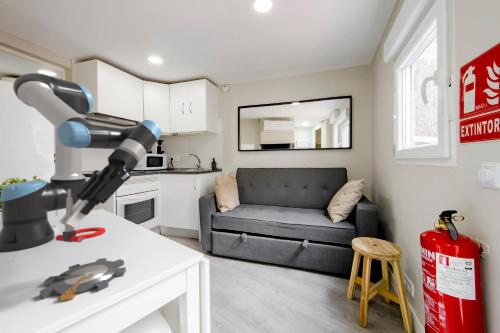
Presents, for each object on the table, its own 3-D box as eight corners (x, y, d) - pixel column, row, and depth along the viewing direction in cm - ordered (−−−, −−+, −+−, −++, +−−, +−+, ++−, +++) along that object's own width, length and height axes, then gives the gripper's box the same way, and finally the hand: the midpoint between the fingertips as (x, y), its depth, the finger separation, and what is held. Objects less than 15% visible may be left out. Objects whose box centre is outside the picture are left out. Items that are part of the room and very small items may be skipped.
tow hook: (88, 230, 60) (52, 241, 51) (88, 185, 60) (52, 189, 51) (112, 232, 58) (80, 244, 49) (113, 186, 59) (80, 189, 49)
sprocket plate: (29, 285, 52) (29, 280, 52) (107, 256, 67) (107, 253, 67) (55, 311, 43) (55, 305, 43) (138, 271, 58) (138, 267, 58)
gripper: (151, 164, 65) (99, 235, 50) (119, 165, 71) (62, 229, 56) (136, 147, 60) (73, 220, 45) (102, 148, 66) (35, 214, 51)
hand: (67, 224), depth 51 cm, fingers closed on tow hook, 2 cm apart
